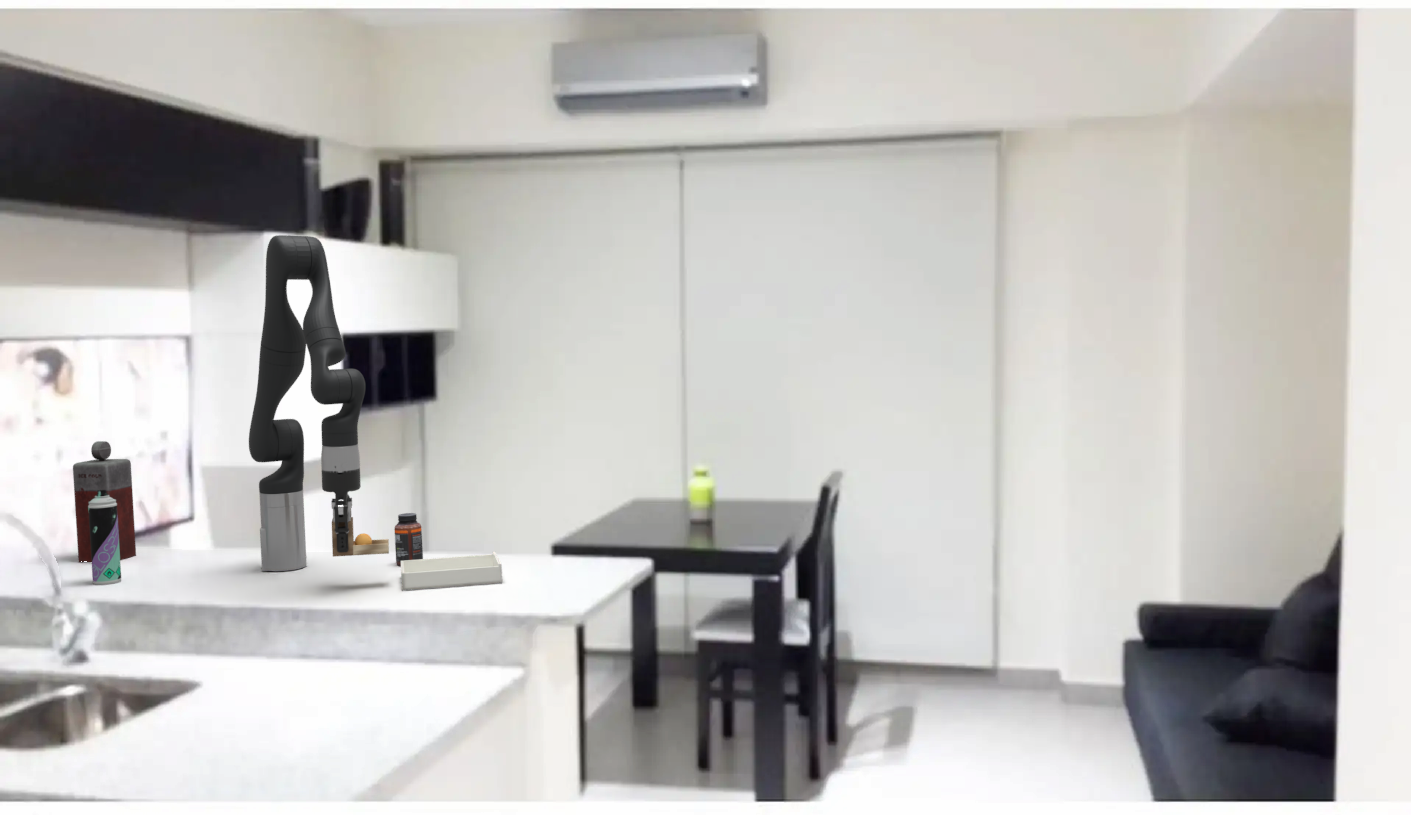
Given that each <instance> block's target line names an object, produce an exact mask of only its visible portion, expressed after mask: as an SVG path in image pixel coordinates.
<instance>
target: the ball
mask: <svg viewBox="0 0 1411 815" xmlns="http://www.w3.org/2000/svg"><path fill="white" fill-rule="evenodd" d="M372 540H373V539H372V537H371V536H370V535H369V534H367V533H359V534H358V535H357V536H355V539H354V541H355V545H370V544H372Z"/></svg>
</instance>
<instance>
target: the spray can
mask: <svg viewBox="0 0 1411 815" xmlns="http://www.w3.org/2000/svg"><path fill="white" fill-rule="evenodd" d="M88 511H89V527H90V544H91V560H92V563H91V571H92V572H91V573H92V574H91V575H92V584H93V585H94V584H95V585H94V586H104V585H105V586H106V585H113V584H118V583H121V581H122V568H121V560H120V549H119V532H118V515H117V503H116V500H115V499H113V498H111V497H109V495H108V494H107V492H106V490H97V494H96V496H95V498H94V499H92V500H91V501H89V505H88Z"/></svg>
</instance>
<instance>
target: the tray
mask: <svg viewBox="0 0 1411 815" xmlns="http://www.w3.org/2000/svg"><path fill="white" fill-rule="evenodd" d="M502 570H503V569H502V562H501V560H500V558H499V556H498V554H497V552H496V551H492V553H490V554H479V555H475V554H474V555H461V556H452V557H451V556H450V557H449V556H447V557H437V558H436V557H435V558H434V557H433V558H423V559H419V560H404V561H401V566H400V575H401V576H400V578H401V591H402V592H404V591H403V590H406V591H412V590H411V589H419V590H426V589H425V588H432V589H443V588H455V587H456V588H457V587H468V586H469V587H471V586H481V585H483V586H484V585H493V584H494V585H495V584H503V571H502Z"/></svg>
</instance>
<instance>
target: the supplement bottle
mask: <svg viewBox="0 0 1411 815" xmlns="http://www.w3.org/2000/svg"><path fill="white" fill-rule="evenodd" d="M417 519H418V518H417V513H416V512H415V513H414V512H406V513H400V514H398V515H397V521H398V522H397V523H396V524H395V525H394V529H393V530H394V544H395V545H394V546H395V548H394V549H395V563H396V565H397V566H400V567H401V561H404V560H419V559H424V550H423V549H424V548H423V535H422V534H423V533H422V525H421V523H420V522H418V521H417Z"/></svg>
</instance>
